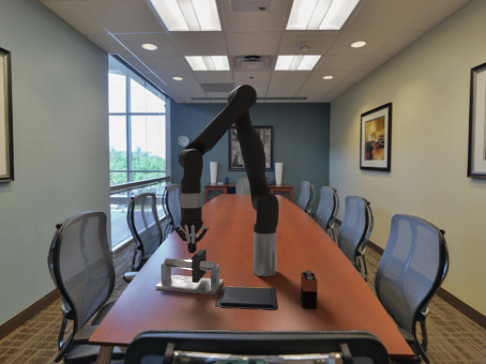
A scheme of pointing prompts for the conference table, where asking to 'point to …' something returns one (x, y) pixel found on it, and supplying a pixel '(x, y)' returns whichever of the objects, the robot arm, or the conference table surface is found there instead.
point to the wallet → (247, 298)
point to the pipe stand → (185, 282)
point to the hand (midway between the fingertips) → (192, 252)
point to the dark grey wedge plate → (198, 265)
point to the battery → (308, 290)
